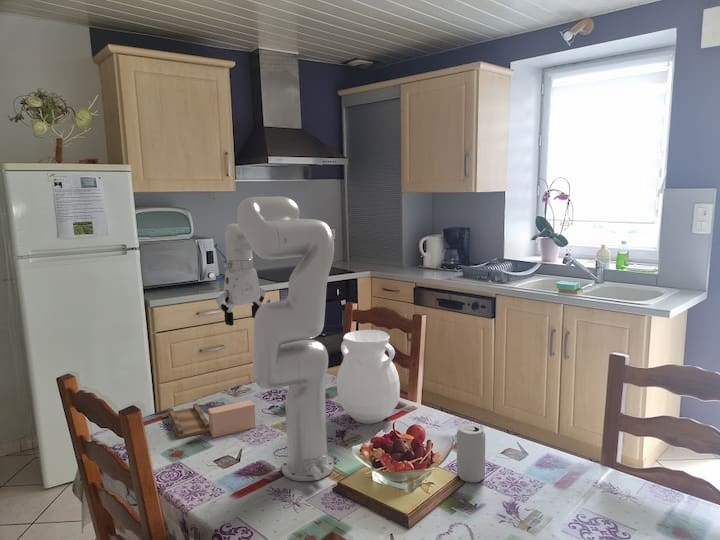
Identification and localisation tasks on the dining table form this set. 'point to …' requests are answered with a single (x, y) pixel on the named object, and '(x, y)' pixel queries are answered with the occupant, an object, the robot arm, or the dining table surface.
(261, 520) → the dining table surface
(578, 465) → the dining table surface
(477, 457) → the beverage can
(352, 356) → the white vase
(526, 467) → the dining table surface
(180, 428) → the rack
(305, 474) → the robot arm
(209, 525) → the dining table surface
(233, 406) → the block
